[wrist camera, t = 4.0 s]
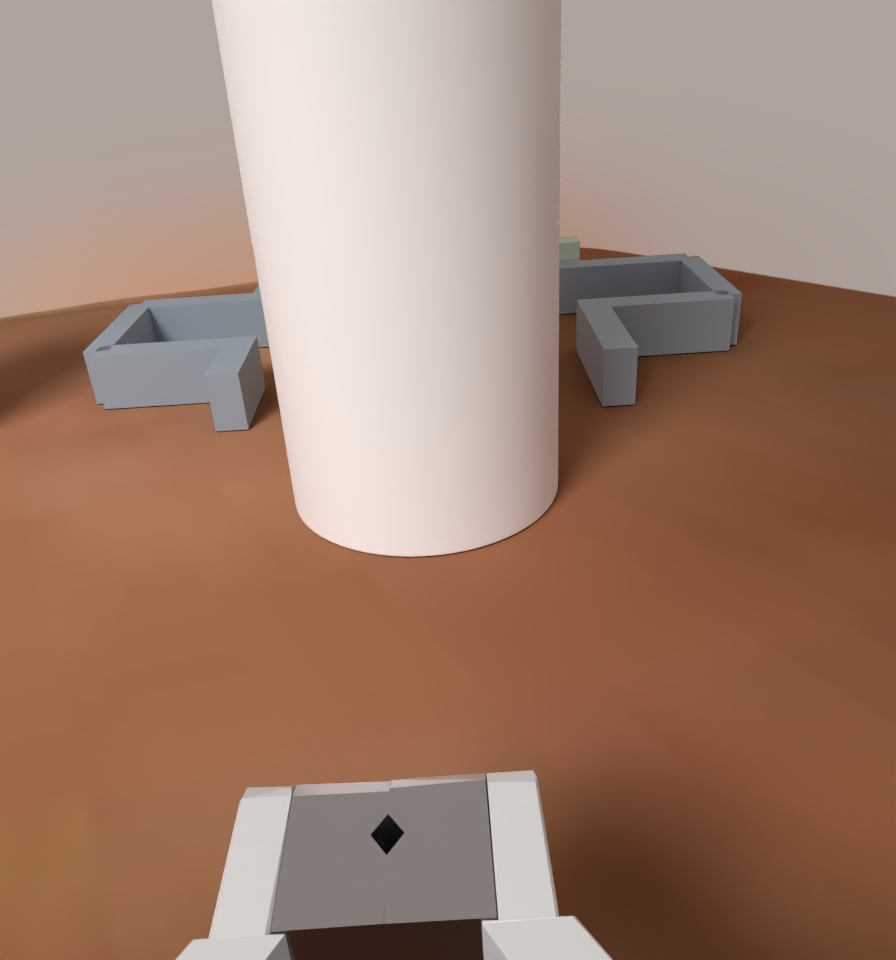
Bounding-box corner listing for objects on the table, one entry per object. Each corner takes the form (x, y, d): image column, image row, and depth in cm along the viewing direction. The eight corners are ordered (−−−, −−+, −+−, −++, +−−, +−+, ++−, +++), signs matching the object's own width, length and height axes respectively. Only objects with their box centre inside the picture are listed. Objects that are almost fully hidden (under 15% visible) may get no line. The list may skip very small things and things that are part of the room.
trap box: (66, 441, 31) (42, 364, 30) (164, 322, 43) (151, 263, 42) (785, 394, 31) (796, 315, 30) (683, 289, 43) (687, 229, 42)
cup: (315, 434, 30) (236, -103, 23) (544, 422, 30) (542, -125, 23) (273, 564, 23) (137, -158, 16) (573, 550, 23) (586, -190, 15)
